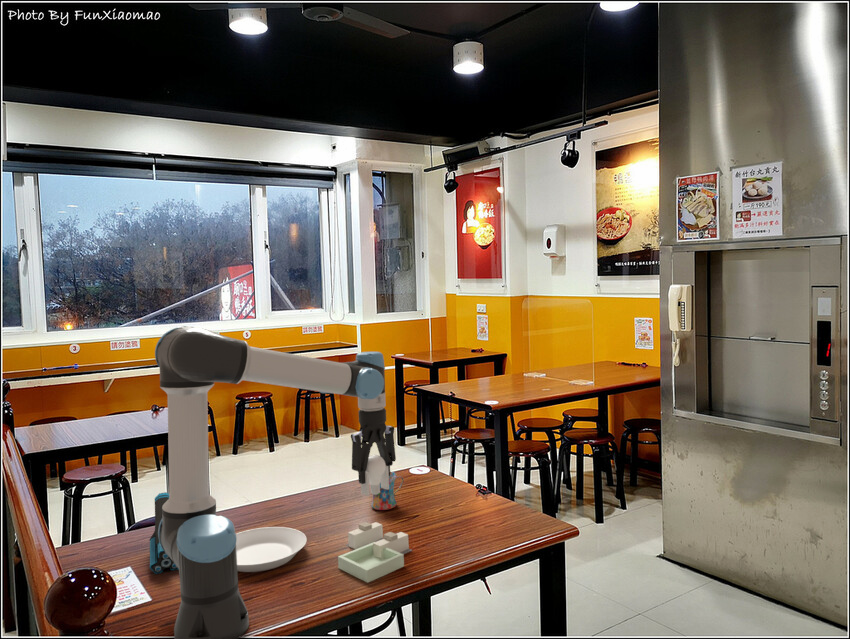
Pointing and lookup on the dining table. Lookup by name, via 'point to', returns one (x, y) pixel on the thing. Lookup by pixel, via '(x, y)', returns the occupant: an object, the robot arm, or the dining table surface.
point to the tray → (370, 562)
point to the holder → (378, 539)
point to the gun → (157, 554)
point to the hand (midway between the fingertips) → (375, 491)
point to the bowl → (267, 547)
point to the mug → (386, 495)
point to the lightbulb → (375, 472)
